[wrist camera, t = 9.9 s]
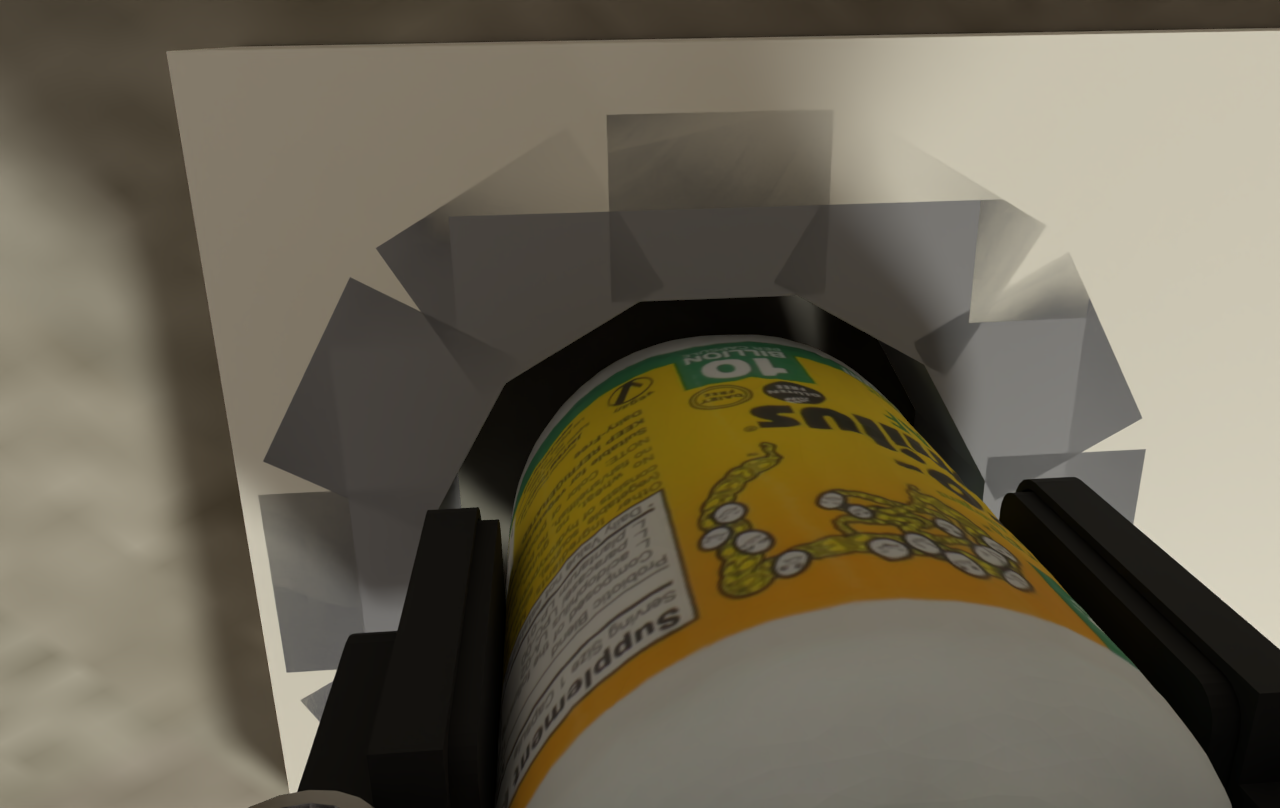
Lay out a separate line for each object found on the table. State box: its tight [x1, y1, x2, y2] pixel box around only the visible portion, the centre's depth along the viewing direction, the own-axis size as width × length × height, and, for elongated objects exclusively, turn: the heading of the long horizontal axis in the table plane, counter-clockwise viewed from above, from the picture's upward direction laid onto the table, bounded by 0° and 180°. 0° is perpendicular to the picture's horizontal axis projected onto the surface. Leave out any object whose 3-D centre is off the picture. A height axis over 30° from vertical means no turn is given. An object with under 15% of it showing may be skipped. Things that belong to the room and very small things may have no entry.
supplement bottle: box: [494, 335, 1232, 808], centre depth 9 cm, size 5×5×10 cm
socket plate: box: [166, 28, 1280, 793], centre depth 14 cm, size 19×12×2 cm, turn 91°
